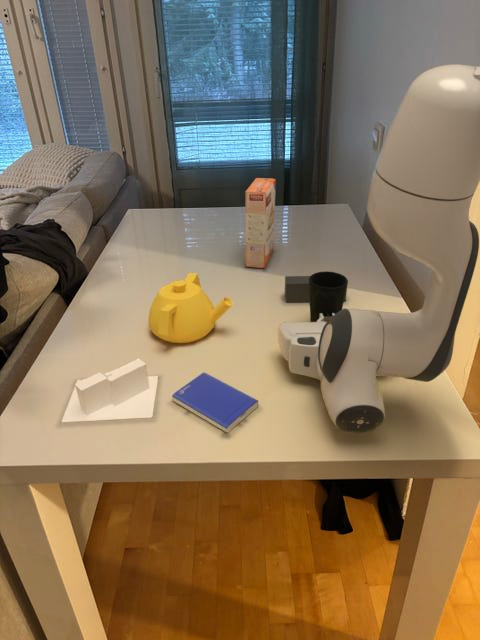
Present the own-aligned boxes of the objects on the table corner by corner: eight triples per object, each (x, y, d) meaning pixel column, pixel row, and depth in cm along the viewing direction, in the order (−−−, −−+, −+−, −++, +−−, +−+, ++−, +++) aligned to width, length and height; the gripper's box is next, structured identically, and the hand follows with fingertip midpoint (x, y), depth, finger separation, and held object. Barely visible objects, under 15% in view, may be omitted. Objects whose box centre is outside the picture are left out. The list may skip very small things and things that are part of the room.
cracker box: (266, 269, 125) (267, 192, 114) (244, 267, 126) (243, 191, 116) (275, 249, 137) (276, 177, 126) (254, 248, 138) (254, 176, 127)
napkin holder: (158, 375, 87) (155, 349, 84) (153, 417, 77) (149, 390, 74) (76, 379, 86) (70, 354, 83) (60, 423, 76) (52, 396, 73)
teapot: (221, 361, 90) (218, 312, 84) (133, 350, 94) (125, 302, 88) (244, 310, 106) (243, 266, 101) (169, 302, 110) (164, 260, 105)
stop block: (342, 294, 113) (344, 275, 110) (345, 302, 109) (347, 282, 107) (284, 294, 113) (285, 276, 110) (285, 302, 109) (286, 283, 107)
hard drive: (171, 394, 79) (226, 426, 73) (204, 371, 85) (258, 399, 78) (172, 401, 80) (226, 434, 73) (204, 378, 86) (258, 406, 79)
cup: (343, 323, 101) (348, 273, 95) (341, 342, 95) (347, 289, 89) (307, 319, 103) (311, 269, 96) (303, 337, 96) (306, 286, 90)
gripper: (402, 341, 79) (381, 301, 91) (282, 343, 79) (276, 303, 91) (396, 370, 82) (376, 328, 94) (281, 372, 82) (275, 330, 94)
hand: (326, 316), depth 92 cm, fingers closed, pressing on cup
